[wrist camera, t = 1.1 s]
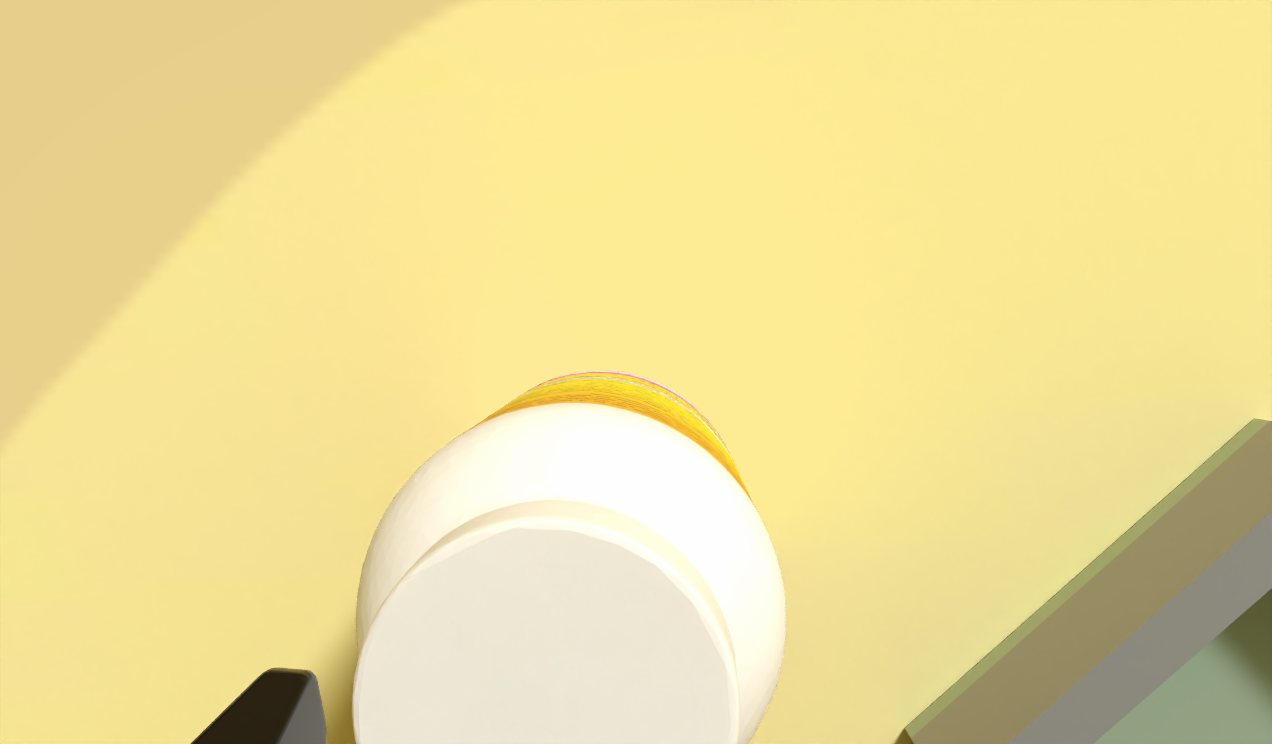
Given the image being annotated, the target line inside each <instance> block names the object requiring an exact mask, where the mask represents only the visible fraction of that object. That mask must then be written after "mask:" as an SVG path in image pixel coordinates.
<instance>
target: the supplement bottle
mask: <svg viewBox="0 0 1272 744" xmlns="http://www.w3.org/2000/svg"><path fill="white" fill-rule="evenodd" d="M356 633H357V646H358V652H359V658H358V663H357V667H356V671H355V675H354V682H353V693H352V720H353V730H354V737H355V742H356V744H748V743H749V741H750V740H751V738H752V737H753V735H754V734H755V732H756V730H757V728H758V726H759V724H760V722H761V721H762V719H763V717H764V715H765V713H766V711H767V708H768V706H769V704H770V702H771V700H772V697H773V694H774V691H775V688H776V686H777V682H778V678H779V673H780V669H781V664H782V660H783V653H784V647H785V637H786V606H785V594H784V586H783V581H782V576H781V571H780V567H779V564H778V560H777V557H776V553H775V550H774V548H773V545H772V543H771V540H770V537H769V535H768V533H767V531H766V528H765V526H764V524H763V522H762V520H761V518H760V516H759V513H758V511H757V509H756V508H755V506H754V504H753V502H752V500H751V498H750V496H749V494H748V492H747V489H746V487H745V485H744V483H743V481H742V479H741V477H740V474H739V472H738V470H737V468H736V465H735V463H734V461H733V459H732V457H731V455H730V453H729V451H728V449H727V448H726V446H725V444H724V442H723V441H722V439H721V437H720V436H719V434H718V433H717V432H716V430H715V429H714V428H713V426H712V425H711V424H710V423H709V421H708V420H707V419H706V418H705V417H704V416H703V415H702V414H701V413H700V412H699V411H698V410H697V409H696V408H695V407H694V406H693V405H692V404H691V403H689V402H688V401H687V400H686V399H684V398H683V397H682V396H680V395H679V394H677V393H676V392H674V391H672V390H671V389H669V388H667V387H665V386H663V385H661V384H658V383H656V382H654V381H651V380H649V379H646V378H643V377H640V376H636V375H632V374H627V373H622V372H614V371H587V372H579V373H573V374H569V375H564V376H560V377H557V378H554V379H552V380H549V381H546V382H544V383H542V384H539V385H537V386H536V387H534V388H532V389H530V390H528V391H527V392H525V393H523V394H522V395H520V396H518V397H517V398H516V399H514V400H513V401H511V402H510V403H508V404H507V405H505V406H504V407H503V408H501V409H500V410H498V411H497V412H495V413H494V414H492V415H490V416H488V417H487V418H486V419H485V420H483V421H482V422H480V423H479V424H477V425H475V426H474V427H472V428H471V429H469V430H467V431H466V432H464V433H463V434H461V435H460V436H458V437H457V438H455V439H454V440H452V441H451V442H450V443H448V444H447V445H446V446H444V447H443V448H442V449H441V450H439V451H438V452H437V453H435V454H434V455H433V456H432V457H431V458H429V459H428V460H427V461H426V462H425V463H424V464H423V465H422V466H421V467H420V468H419V469H418V470H417V471H416V472H415V473H414V474H413V475H412V476H411V477H410V478H409V480H408V481H407V482H406V483H405V484H404V486H403V487H402V488H401V489H400V490H399V492H398V493H397V495H396V496H395V498H394V499H393V500H392V502H391V503H390V505H389V507H388V508H387V510H386V512H385V513H384V515H383V517H382V519H381V520H380V523H379V525H378V527H377V529H376V531H375V533H374V536H373V538H372V540H371V543H370V546H369V549H368V551H367V555H366V558H365V561H364V564H363V567H362V573H361V578H360V584H359V590H358V596H357V609H356Z"/></svg>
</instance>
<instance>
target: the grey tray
mask: <svg viewBox="0 0 1272 744" xmlns="http://www.w3.org/2000/svg"><path fill="white" fill-rule="evenodd" d="M905 730H906V731H907V733H908V735H909V736H910V738H911V740H912V741H913V743H914V744H1272V421H1266V420H1260V419H1255V418H1254V419H1253V420H1252V421H1251V422H1250V423H1249V424H1248V425H1247V426H1245V427H1244V428H1243V429H1242V430H1241V431H1240V432H1239V433H1237V434H1236V435H1235V436H1234V437H1233V438H1232V439H1231V440H1230V441H1228V442H1227V443H1226V444H1225V445H1224V446H1223V447H1222V448H1221V449H1219V450H1218V451H1217V452H1216V453H1215V454H1214V455H1213V456H1212V457H1210V458H1209V459H1208V460H1207V461H1206V462H1205V463H1204V464H1202V465H1201V466H1200V467H1199V468H1198V469H1197V470H1196V471H1195V472H1193V473H1192V474H1191V475H1190V476H1189V477H1188V478H1187V479H1186V480H1184V481H1183V482H1182V483H1181V484H1180V485H1179V486H1178V487H1177V488H1175V489H1174V490H1173V491H1172V492H1171V493H1170V494H1169V495H1167V496H1166V497H1165V498H1164V499H1163V500H1162V501H1161V502H1160V503H1158V504H1157V505H1156V506H1155V507H1154V508H1153V509H1152V510H1151V511H1149V512H1148V513H1147V514H1146V515H1145V516H1144V517H1143V518H1141V519H1140V520H1139V521H1138V522H1137V523H1136V524H1135V525H1134V526H1132V527H1131V528H1130V529H1129V530H1128V531H1127V532H1126V533H1125V534H1123V535H1122V536H1121V537H1120V538H1119V539H1118V540H1117V541H1116V542H1114V543H1113V544H1112V545H1111V546H1110V547H1109V548H1108V549H1106V550H1105V551H1104V552H1103V553H1102V554H1101V555H1100V556H1099V557H1097V558H1096V559H1095V560H1094V561H1093V562H1092V563H1091V564H1090V565H1088V566H1087V567H1086V568H1085V569H1084V570H1083V571H1082V572H1081V573H1079V574H1078V575H1077V576H1076V577H1075V578H1074V579H1073V580H1071V581H1070V582H1069V583H1068V584H1067V585H1066V586H1065V587H1064V588H1062V589H1061V590H1060V591H1059V592H1058V593H1057V594H1056V595H1055V596H1053V597H1052V598H1051V599H1050V600H1049V601H1048V602H1047V603H1046V604H1044V605H1043V606H1042V607H1041V608H1040V609H1039V610H1038V611H1036V612H1035V613H1034V614H1033V615H1032V616H1031V617H1030V618H1029V619H1027V620H1026V621H1025V622H1024V623H1023V624H1022V625H1021V626H1020V627H1018V628H1017V629H1016V630H1015V631H1014V632H1013V633H1012V634H1010V635H1009V636H1008V637H1007V638H1006V639H1005V640H1004V641H1003V642H1001V643H1000V644H999V645H998V646H997V647H996V648H995V649H994V650H992V651H991V652H990V653H989V654H988V655H987V656H986V657H985V658H983V659H982V660H981V661H980V662H979V663H978V664H977V665H975V666H974V667H973V668H972V669H971V670H970V671H969V672H968V673H966V674H965V675H964V676H963V677H962V678H961V679H960V680H959V681H957V682H956V683H955V684H954V685H953V686H952V687H951V688H950V689H948V690H947V691H946V692H945V693H944V694H943V695H942V696H940V697H939V698H938V699H937V700H936V701H935V702H934V703H933V704H931V705H930V706H929V707H928V708H927V709H926V710H925V711H924V712H922V713H921V714H920V715H919V716H918V717H917V718H916V719H914V720H913V721H912V722H911V723H910V724H909V725H908V726H907V727H905Z"/></svg>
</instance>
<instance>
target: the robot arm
mask: <svg viewBox="0 0 1272 744" xmlns="http://www.w3.org/2000/svg"><path fill="white" fill-rule="evenodd" d="M191 744H326V722H325V717H324V712H323V707H322V702H321V696H320V691H319V686H318V681H317V679H316V676H315V675H314V674H313V673H312V672H311V671H309V670H301V669H288V668H271V669H269V670H267V671H265V672H264V673H262V674H261V675H260V676H259V677H258V678H257V679H256V680H255V681H254V682H253V683H252V684H251V685H250V686H249V687H248V688H247V689H246V690H245V691H244V692H243V693H242V694H241V695H240V696H238V697H237V698H236V699H235V700H234V701H233V702H232V703H231V704H230V705H229V706H228V707H227V708H226V709H225V710H224V711H223V712H222V713H221V714H220V715H219V716H218V717H217V718H216V719H215V720H214V721H213V722H212V723H211V724H210V725H209V726H208V727H207V728H206V729H205V730H204V731H203V732H202V733H201V734H200V735H199V736H198V737H197V738H196V739H195V740H194V741H193V742H192V743H191Z"/></svg>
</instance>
